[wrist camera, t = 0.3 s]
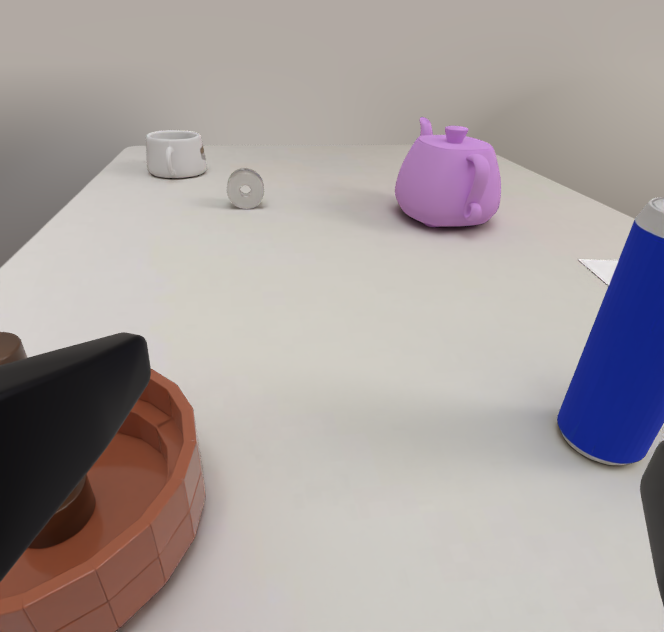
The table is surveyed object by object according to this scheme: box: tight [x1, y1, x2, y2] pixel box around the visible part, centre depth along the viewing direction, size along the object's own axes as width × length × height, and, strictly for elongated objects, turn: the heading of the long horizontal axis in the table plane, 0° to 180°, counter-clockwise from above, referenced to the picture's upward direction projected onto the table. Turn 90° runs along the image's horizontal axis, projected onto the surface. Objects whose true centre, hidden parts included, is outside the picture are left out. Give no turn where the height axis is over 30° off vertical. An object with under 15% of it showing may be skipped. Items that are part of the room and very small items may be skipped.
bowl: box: [0, 369, 206, 632], centre depth 22 cm, size 14×14×5 cm
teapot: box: [395, 117, 501, 227], centre depth 63 cm, size 20×13×12 cm, turn 14°
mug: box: [146, 130, 207, 178], centre depth 77 cm, size 12×10×6 cm
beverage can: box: [557, 197, 664, 465], centre depth 26 cm, size 5×5×15 cm
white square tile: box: [578, 259, 619, 285], centre depth 49 cm, size 12×12×2 cm
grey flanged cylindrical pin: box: [0, 332, 95, 548], centre depth 20 cm, size 4×4×10 cm
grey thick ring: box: [227, 168, 264, 209], centre depth 65 cm, size 5×3×5 cm, turn 99°
